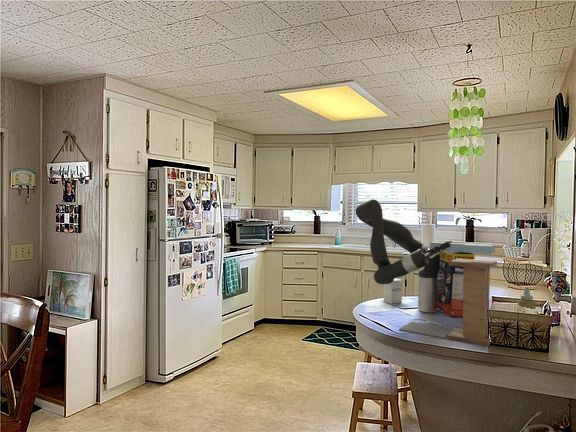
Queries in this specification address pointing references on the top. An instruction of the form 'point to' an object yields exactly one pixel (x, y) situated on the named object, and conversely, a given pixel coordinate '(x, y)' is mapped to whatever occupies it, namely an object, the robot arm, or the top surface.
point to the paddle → (467, 247)
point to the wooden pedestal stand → (474, 301)
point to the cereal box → (451, 283)
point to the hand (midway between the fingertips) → (450, 243)
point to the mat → (427, 329)
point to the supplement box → (393, 291)
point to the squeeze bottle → (527, 300)
